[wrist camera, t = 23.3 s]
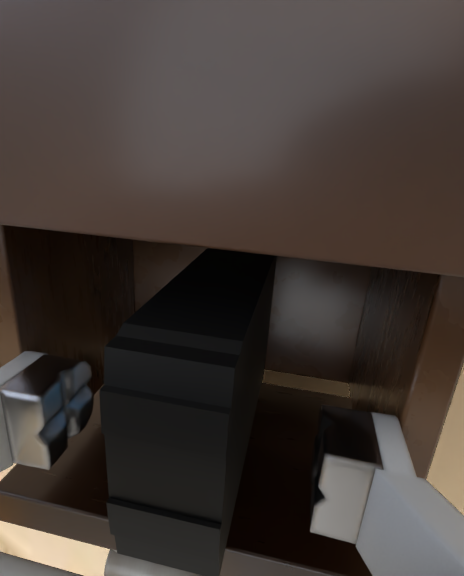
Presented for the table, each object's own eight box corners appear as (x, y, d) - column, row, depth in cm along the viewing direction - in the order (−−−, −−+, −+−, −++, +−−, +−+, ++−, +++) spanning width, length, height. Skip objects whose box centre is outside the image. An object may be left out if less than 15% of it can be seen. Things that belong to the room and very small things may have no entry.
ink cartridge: (213, 237, 13) (88, 346, 6) (279, 244, 13) (233, 371, 5) (207, 360, 15) (104, 564, 8) (264, 369, 15) (215, 594, 7)
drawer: (352, 507, 17) (377, 733, 11) (121, 457, 19) (19, 622, 12) (462, 50, 11) (701, -112, 4) (100, 42, 13) (-136, -80, 6)
